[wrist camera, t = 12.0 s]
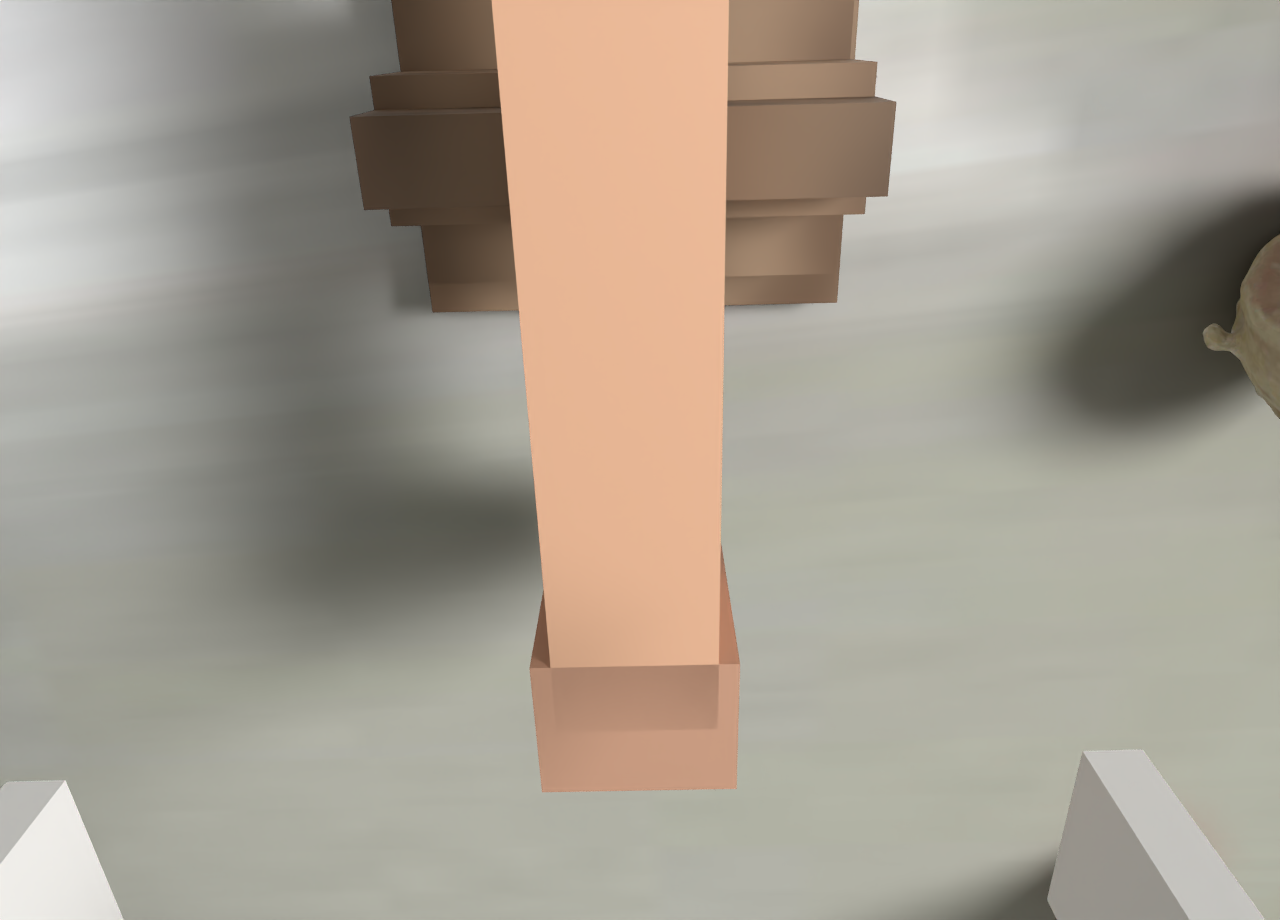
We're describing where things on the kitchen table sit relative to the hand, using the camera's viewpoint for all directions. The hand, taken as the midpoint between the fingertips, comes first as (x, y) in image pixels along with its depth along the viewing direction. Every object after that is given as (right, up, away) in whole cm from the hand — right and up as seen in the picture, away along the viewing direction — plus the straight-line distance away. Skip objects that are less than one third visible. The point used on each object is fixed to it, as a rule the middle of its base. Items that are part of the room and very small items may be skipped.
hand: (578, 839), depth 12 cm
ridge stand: (0, +16, +17) cm, 24 cm away
